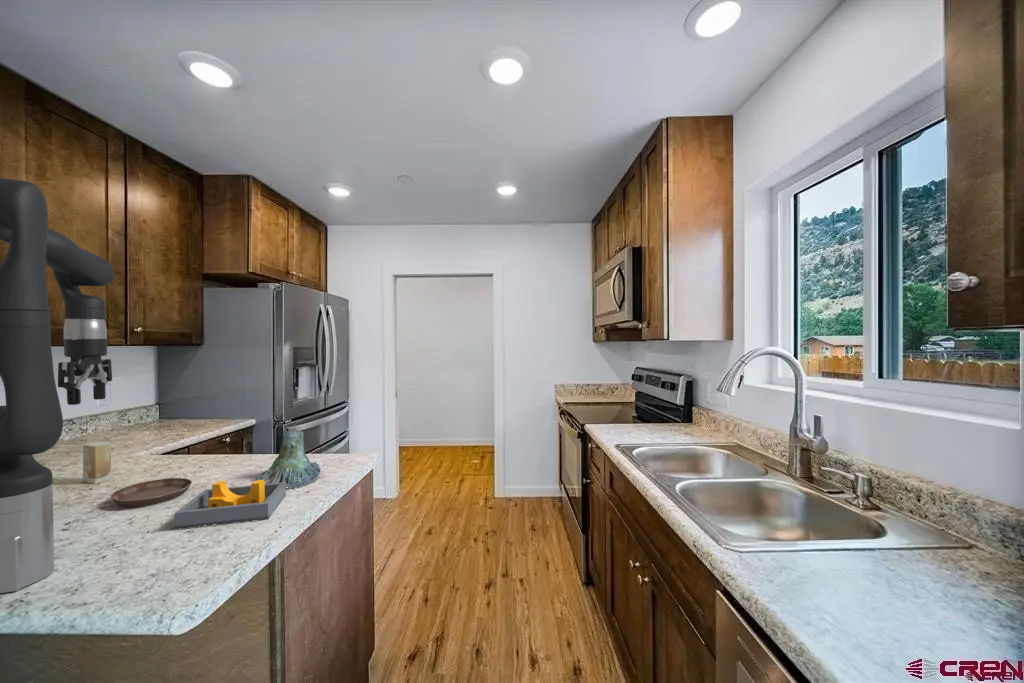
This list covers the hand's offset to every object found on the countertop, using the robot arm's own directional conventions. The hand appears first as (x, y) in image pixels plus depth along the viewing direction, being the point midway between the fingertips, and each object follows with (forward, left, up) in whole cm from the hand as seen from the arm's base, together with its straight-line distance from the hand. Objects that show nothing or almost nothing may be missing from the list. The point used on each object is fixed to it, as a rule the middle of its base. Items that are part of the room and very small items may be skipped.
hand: (87, 401), depth 103 cm
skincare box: (+36, +19, -30) cm, 51 cm away
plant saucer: (+14, -7, -31) cm, 34 cm away
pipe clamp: (-4, -34, -30) cm, 45 cm away
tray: (-4, -34, -30) cm, 45 cm away
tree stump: (+19, -41, -31) cm, 55 cm away
